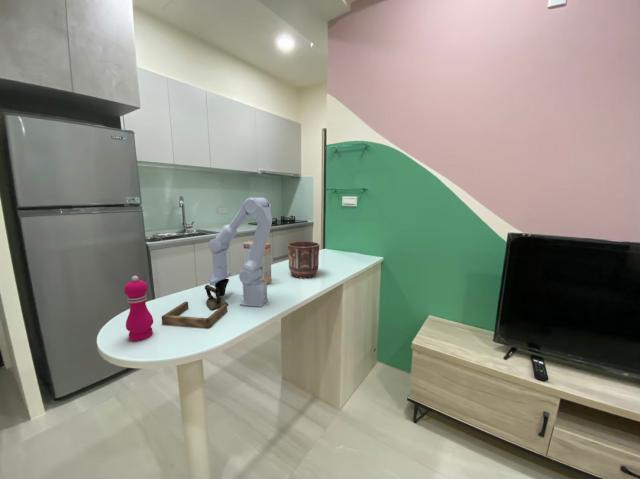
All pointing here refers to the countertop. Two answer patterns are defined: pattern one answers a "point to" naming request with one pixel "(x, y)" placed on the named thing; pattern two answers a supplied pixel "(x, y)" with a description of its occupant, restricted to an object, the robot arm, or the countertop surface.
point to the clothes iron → (214, 302)
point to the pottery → (303, 258)
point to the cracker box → (265, 260)
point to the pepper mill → (138, 310)
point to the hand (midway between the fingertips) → (221, 295)
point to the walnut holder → (177, 320)
